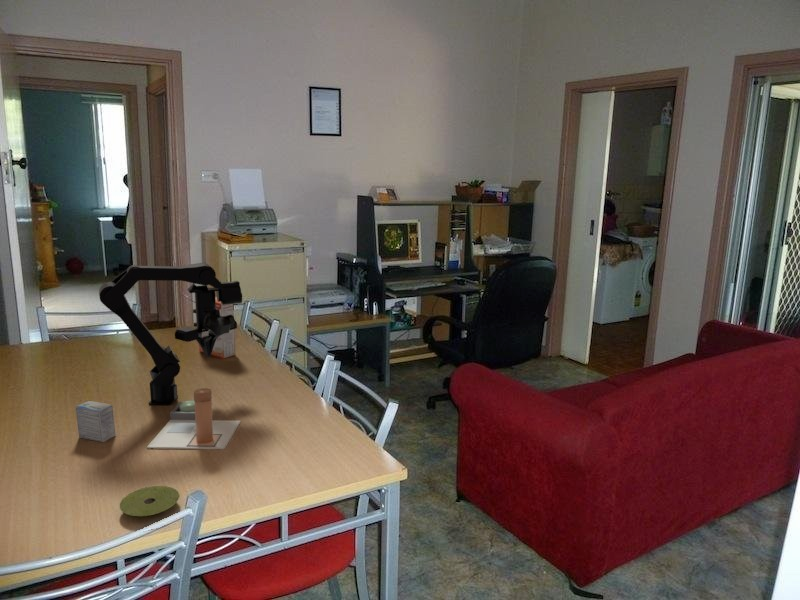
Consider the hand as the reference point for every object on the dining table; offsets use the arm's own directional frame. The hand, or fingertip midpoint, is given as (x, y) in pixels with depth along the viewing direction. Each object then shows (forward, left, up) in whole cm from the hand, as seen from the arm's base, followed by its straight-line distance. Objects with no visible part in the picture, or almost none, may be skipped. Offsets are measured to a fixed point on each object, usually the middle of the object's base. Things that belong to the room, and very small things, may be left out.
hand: (208, 356), depth 180 cm
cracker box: (-9, +39, -12) cm, 42 cm away
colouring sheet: (+5, -28, -12) cm, 31 cm away
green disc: (+6, -62, -12) cm, 63 cm away
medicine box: (-20, -30, -12) cm, 38 cm away
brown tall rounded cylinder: (+8, -32, -12) cm, 35 cm away
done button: (-1, -16, -12) cm, 20 cm away
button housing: (-1, -16, -12) cm, 20 cm away
